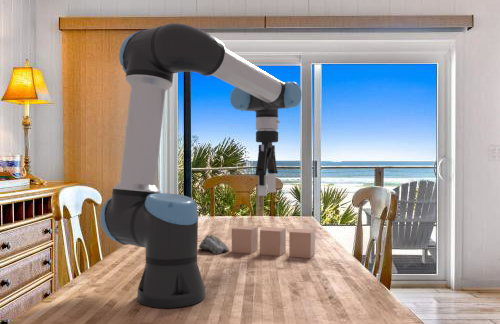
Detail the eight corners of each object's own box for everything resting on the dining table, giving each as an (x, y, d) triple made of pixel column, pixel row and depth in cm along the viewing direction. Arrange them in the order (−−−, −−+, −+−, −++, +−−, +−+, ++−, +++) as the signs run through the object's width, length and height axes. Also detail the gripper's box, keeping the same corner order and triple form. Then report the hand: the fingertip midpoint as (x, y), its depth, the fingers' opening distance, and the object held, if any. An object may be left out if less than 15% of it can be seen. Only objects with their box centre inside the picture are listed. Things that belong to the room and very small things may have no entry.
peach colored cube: (251, 253, 156) (251, 229, 156) (231, 252, 158) (231, 228, 158) (257, 249, 163) (257, 226, 163) (238, 248, 165) (238, 225, 165)
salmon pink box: (310, 258, 150) (310, 233, 150) (289, 256, 152) (289, 231, 152) (314, 253, 156) (314, 229, 156) (294, 252, 159) (294, 228, 158)
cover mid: (280, 255, 153) (280, 231, 153) (259, 254, 155) (259, 230, 155) (285, 251, 159) (285, 228, 159) (265, 250, 162) (266, 227, 162)
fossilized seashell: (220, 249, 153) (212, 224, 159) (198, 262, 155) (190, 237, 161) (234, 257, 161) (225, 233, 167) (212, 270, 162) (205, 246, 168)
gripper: (269, 128, 144) (270, 197, 144) (284, 132, 168) (284, 191, 169) (246, 128, 146) (246, 197, 146) (264, 132, 170) (264, 190, 170)
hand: (267, 194), depth 157 cm, fingers open, 13 cm apart
